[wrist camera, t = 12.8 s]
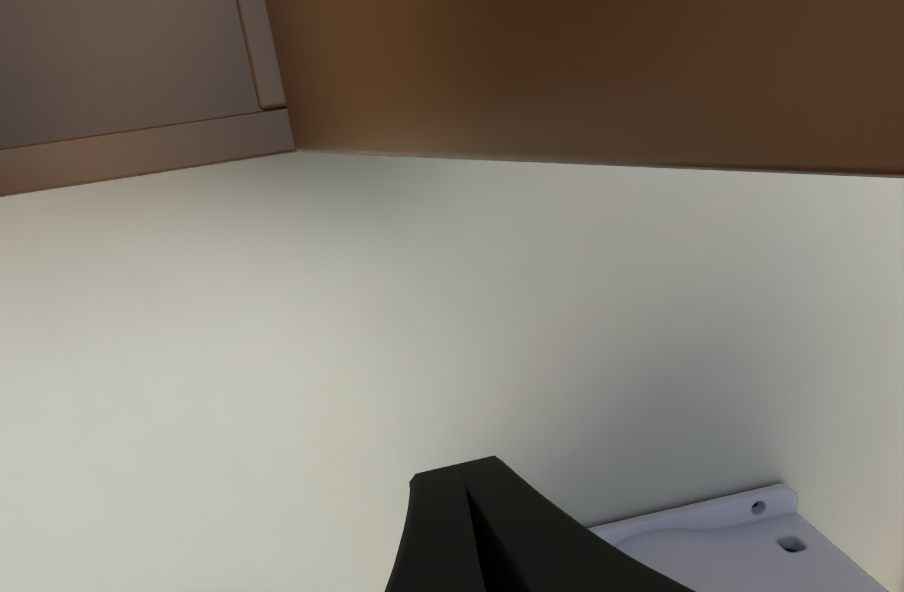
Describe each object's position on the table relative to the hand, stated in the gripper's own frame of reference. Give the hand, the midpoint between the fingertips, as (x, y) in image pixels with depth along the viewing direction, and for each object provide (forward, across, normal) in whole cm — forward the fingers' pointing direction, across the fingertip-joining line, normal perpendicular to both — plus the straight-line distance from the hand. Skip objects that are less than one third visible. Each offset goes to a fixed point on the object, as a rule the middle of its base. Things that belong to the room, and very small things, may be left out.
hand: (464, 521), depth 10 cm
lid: (-3, 0, -11) cm, 12 cm away
